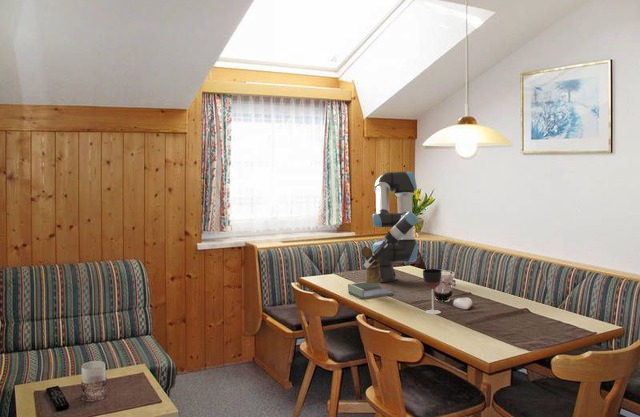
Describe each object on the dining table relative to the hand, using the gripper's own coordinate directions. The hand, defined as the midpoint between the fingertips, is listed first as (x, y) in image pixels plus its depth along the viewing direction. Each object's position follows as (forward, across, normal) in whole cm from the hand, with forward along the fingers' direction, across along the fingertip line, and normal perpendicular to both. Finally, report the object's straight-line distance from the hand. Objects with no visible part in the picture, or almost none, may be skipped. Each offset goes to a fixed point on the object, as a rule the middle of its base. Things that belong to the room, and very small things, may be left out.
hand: (365, 264), depth 324 cm
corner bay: (+10, +1, -13) cm, 16 cm away
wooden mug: (+4, 0, -8) cm, 9 cm away
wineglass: (-12, -34, -36) cm, 51 cm away
